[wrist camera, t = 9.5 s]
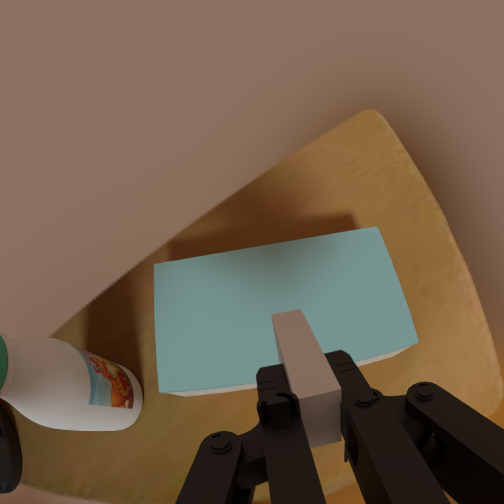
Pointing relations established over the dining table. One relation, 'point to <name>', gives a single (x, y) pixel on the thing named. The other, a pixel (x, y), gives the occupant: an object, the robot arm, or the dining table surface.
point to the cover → (275, 307)
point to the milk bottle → (67, 386)
